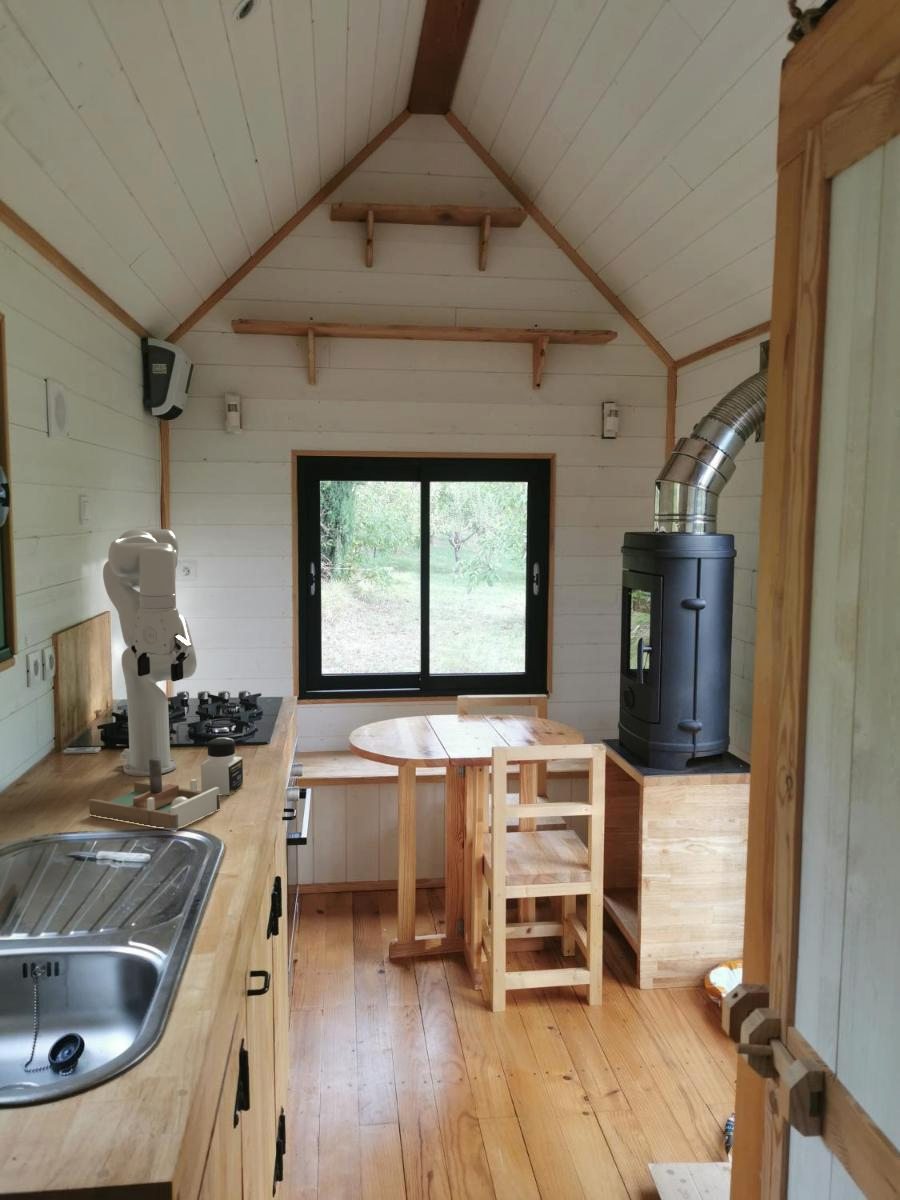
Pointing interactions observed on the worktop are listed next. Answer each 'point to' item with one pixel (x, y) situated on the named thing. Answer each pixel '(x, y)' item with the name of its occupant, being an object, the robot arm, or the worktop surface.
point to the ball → (178, 800)
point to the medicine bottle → (222, 767)
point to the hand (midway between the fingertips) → (160, 677)
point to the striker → (157, 788)
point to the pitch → (161, 816)
